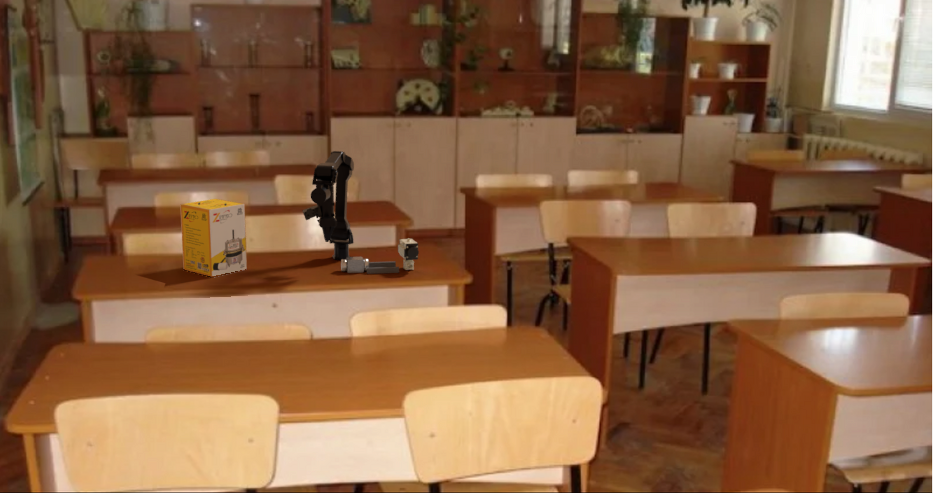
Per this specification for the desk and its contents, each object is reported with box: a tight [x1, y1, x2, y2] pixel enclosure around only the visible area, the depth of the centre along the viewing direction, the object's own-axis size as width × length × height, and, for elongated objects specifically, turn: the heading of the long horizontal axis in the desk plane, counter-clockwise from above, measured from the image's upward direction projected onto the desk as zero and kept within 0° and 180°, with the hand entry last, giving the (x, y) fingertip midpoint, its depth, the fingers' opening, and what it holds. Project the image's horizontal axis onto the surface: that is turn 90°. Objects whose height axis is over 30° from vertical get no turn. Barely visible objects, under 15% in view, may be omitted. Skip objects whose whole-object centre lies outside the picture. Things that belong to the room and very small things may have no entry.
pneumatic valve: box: [397, 237, 420, 271], centre depth 341 cm, size 6×12×12 cm, turn 20°
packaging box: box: [179, 198, 248, 276], centre depth 331 cm, size 16×16×25 cm
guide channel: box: [366, 260, 400, 275], centre depth 339 cm, size 9×12×2 cm
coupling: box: [340, 256, 370, 274], centre depth 337 cm, size 5×10×5 cm, turn 103°
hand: (326, 240), depth 332 cm, fingers open, 4 cm apart
